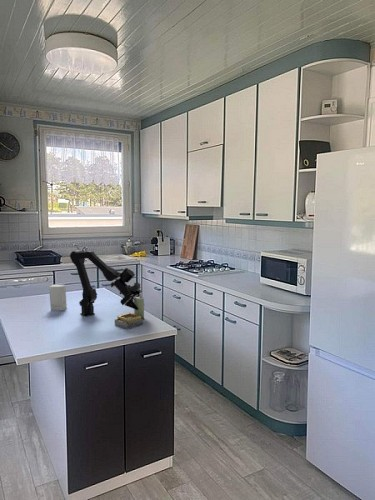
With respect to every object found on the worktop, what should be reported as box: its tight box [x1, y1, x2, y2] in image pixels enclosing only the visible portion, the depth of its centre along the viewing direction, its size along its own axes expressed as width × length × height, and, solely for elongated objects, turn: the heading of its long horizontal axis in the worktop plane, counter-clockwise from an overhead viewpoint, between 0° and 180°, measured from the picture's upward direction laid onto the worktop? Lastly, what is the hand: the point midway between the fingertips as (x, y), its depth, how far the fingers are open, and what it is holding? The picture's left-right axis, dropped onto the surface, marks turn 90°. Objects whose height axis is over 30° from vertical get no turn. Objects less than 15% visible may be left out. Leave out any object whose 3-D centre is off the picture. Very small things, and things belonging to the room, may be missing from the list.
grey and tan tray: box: [114, 312, 144, 330], centre depth 213 cm, size 11×11×4 cm
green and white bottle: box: [133, 292, 145, 321], centre depth 223 cm, size 6×6×15 cm
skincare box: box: [48, 284, 68, 312], centre depth 243 cm, size 8×7×16 cm
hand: (141, 307), depth 223 cm, fingers open, 9 cm apart
